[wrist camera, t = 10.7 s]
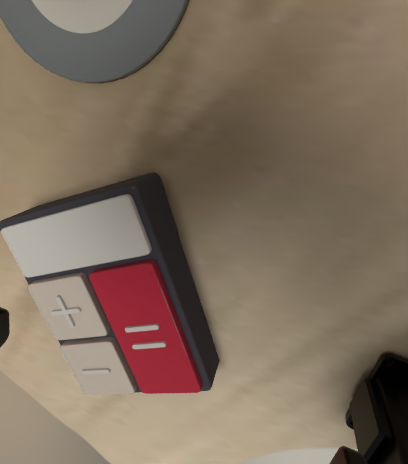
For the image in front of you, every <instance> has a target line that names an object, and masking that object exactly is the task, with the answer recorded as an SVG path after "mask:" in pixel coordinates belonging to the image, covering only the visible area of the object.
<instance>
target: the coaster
mask: <svg viewBox="0 0 408 464" xmlns="http://www.w3.org/2000/svg"><path fill="white" fill-rule="evenodd" d="M188 1H189V0H0V17H1V19H2V21H3V22H4V24H5V26H6V28H7V29H8V31H9V32H10V34H11V35H12V36H13V38H14V39H15V41H16V42H17V43H18V44H19V45H20V46H21V48H22V49H23V50H24V51H25V52H26V53H27V54H28V55H29V56H30V57H31V58H32V59H34V60H35V61H36V62H37V63H39V64H40V65H41V66H43V67H44V68H46V69H47V70H49V71H51V72H53V73H55V74H57V75H59V76H62V77H65V78H68V79H71V80H76V81H81V82H87V83H104V82H111V81H115V80H118V79H121V78H124V77H126V76H128V75H130V74H132V73H134V72H136V71H138V70H139V69H141V68H142V67H143V66H145V65H146V64H148V63H149V62H150V61H151V60H152V59H153V58H154V57H155V56H156V55H157V54H158V53H159V52H160V51H161V50H162V48H163V47H164V46H165V45H166V43H167V42H168V41H169V39H170V38H171V36H172V35H173V33H174V31H175V30H176V28H177V27H178V25H179V23H180V20H181V18H182V16H183V14H184V12H185V10H186V7H187V4H188Z"/></svg>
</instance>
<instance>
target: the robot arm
mask: <svg viewBox="0 0 408 464" xmlns="http://www.w3.org/2000/svg"><path fill="white" fill-rule="evenodd" d="M8 336H9V312H8V311H7V310H6V309H4V308H1V307H0V347H1V346H2V345H3V344H4V343H5V341H6V340H7V338H8ZM388 361H393V362H392V363H387V362H388ZM345 418H346V424H347V426H348V427H350V428H352V429H354V432H355V437H356V443H357V448H358V451H355V450H353V449H350V448H348V447H345V446H342V447H340V448H339V449H338V451H337V453H336V454H335V456H334V457H333V459H332V461H331V463H330V464H408V359H405V358H402V357H399V356H397V355H394V354H390V353H388V354H384V355H382V356H381V358H380V359H379V361H378V363H377V364H376V366H375V368H374V369H373V371H372V373H371V374H370V376H369V378H366V379H364V381H363V383H362V384H361V386H360V388H359V389H358V391H357V393H356V394H355V396H354V398H353V399H352V401H351V403H350V410H349V411H348V413H347V415H346V417H345Z"/></svg>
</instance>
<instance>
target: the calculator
mask: <svg viewBox="0 0 408 464" xmlns="http://www.w3.org/2000/svg"><path fill="white" fill-rule="evenodd" d="M0 231H1V233H2V235H3V237H4V239H5V241H6V243H7V245H8V247H9V249H10V251H11V252H12V254H13V256H14V258H15V260H16V262H17V264H18V266H19V268H20V269H21V271H22V273H23V275H24V276H25V278H26V280H27V282H28V284H29V285H28V289H29V292H30V293H31V295H32V297H33V299H34V301H35V303H36V305H37V307H38V308H39V310H40V312H41V314H42V316H43V318H44V320H45V322H46V324H47V325H48V327H49V329H50V331H51V333H52V335H53V337H54V338H55V339H56V340H58V341H59V343H60V344H61V346H60V349H61V352H62V354H63V356H64V357H65V359H66V361H67V363H68V365H69V367H70V369H71V371H72V372H73V374H74V376H75V378H76V380H77V382H78V384H79V386H80V387H81V389H82V391H83V393H84V394H88V395H95V394H133V393H134V392H143V393H147V394H148V393H197V392H200V391H208V390H210V389H211V387H212V384H213V381H214V377H215V374H216V370H217V367H218V363H219V358H218V355H217V352H216V349H215V346H214V343H213V340H212V336H211V333H210V330H209V327H208V324H207V321H206V318H205V315H204V312H203V309H202V306H201V303H200V300H199V297H198V294H197V291H196V288H195V285H194V282H193V280H192V277H191V274H190V271H189V268H188V265H187V262H186V260H185V257H184V254H183V251H182V248H181V245H180V242H179V239H178V231H177V228H176V225H175V222H174V219H173V216H172V212H171V209H170V206H169V203H168V200H167V197H166V194H165V191H164V188H163V185H162V182H161V179H160V177H159V175H158V174H156V173H149V174H146V175H142V176H139V177H136V178H132V179H129V180H125V181H122V182H118V183H115V184H112V185H108V186H105V187H101V188H98V189H94V190H91V191H88V192H84V193H81V194H77V195H74V196H70V197H67V198H64V199H60V200H57V201H53V202H50V203H46V204H43V205H40V206H36V207H34V208H31V209H29V210H26V211H24V212H21V213H19V214H17V215H14V216H12V217H9V218H7V219H4V220H2V221H0Z"/></svg>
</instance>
